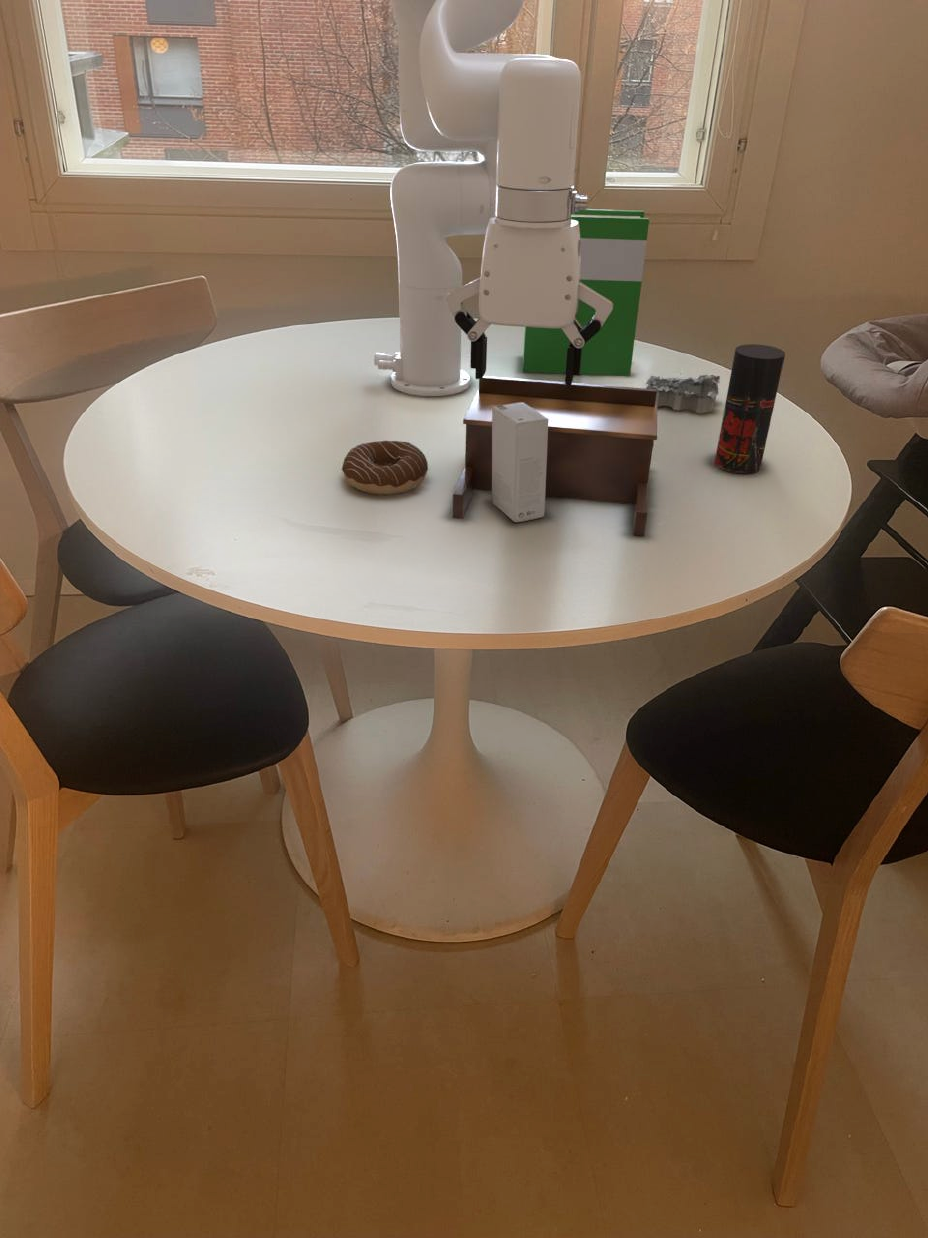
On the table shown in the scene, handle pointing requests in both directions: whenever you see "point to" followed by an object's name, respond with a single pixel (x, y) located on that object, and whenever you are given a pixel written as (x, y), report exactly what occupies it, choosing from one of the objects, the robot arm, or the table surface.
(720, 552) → the table surface
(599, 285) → the hardback book
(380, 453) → the donut
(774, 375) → the deodorant
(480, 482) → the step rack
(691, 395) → the egg carton
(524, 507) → the cosmetic box
